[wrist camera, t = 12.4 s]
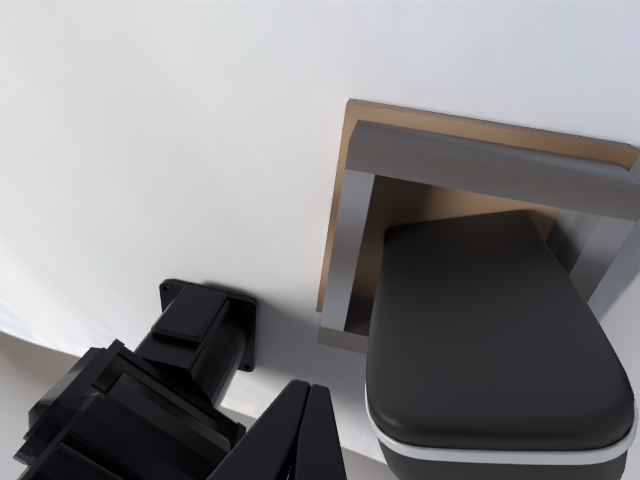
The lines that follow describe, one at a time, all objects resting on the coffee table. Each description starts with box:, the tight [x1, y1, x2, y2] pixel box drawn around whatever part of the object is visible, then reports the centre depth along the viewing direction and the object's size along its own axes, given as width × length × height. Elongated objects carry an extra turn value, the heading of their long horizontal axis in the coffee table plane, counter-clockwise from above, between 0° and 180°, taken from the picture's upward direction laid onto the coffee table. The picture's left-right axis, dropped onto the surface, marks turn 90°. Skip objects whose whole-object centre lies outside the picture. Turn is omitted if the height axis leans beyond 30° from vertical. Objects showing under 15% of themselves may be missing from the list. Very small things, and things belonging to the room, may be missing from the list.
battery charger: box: [365, 210, 638, 480], centre depth 15 cm, size 7×4×11 cm, turn 104°
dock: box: [316, 99, 640, 354], centre depth 19 cm, size 12×12×4 cm
